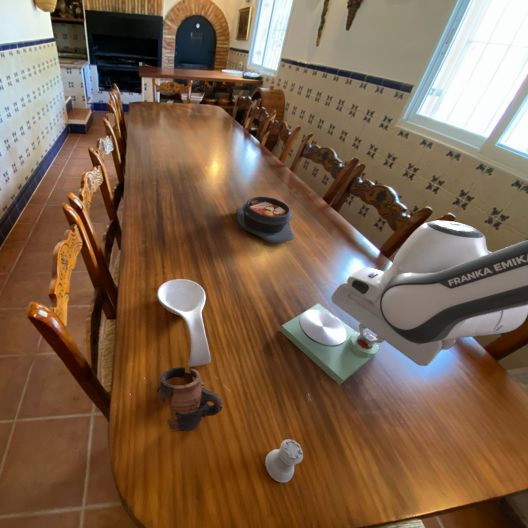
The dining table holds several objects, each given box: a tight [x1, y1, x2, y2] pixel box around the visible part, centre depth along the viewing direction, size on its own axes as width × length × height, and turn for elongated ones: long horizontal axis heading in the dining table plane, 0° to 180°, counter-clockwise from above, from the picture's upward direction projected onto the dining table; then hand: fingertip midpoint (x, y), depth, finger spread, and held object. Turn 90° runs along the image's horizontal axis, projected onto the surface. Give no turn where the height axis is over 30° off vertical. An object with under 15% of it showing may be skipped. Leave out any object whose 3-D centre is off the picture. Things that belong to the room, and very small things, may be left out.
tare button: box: [357, 339, 370, 349], centre depth 65 cm, size 3×3×2 cm
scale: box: [279, 303, 380, 386], centre depth 67 cm, size 16×14×4 cm
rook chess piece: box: [264, 438, 304, 484], centre depth 46 cm, size 4×4×8 cm
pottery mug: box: [156, 366, 224, 433], centre depth 54 cm, size 12×10×8 cm
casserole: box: [235, 195, 296, 244], centre depth 104 cm, size 25×19×8 cm
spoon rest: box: [156, 278, 211, 368], centre depth 68 cm, size 24×12×7 cm, turn 14°
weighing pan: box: [299, 310, 346, 347], centre depth 67 cm, size 10×10×1 cm
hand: (364, 341), depth 65 cm, fingers closed, pressing on tare button
